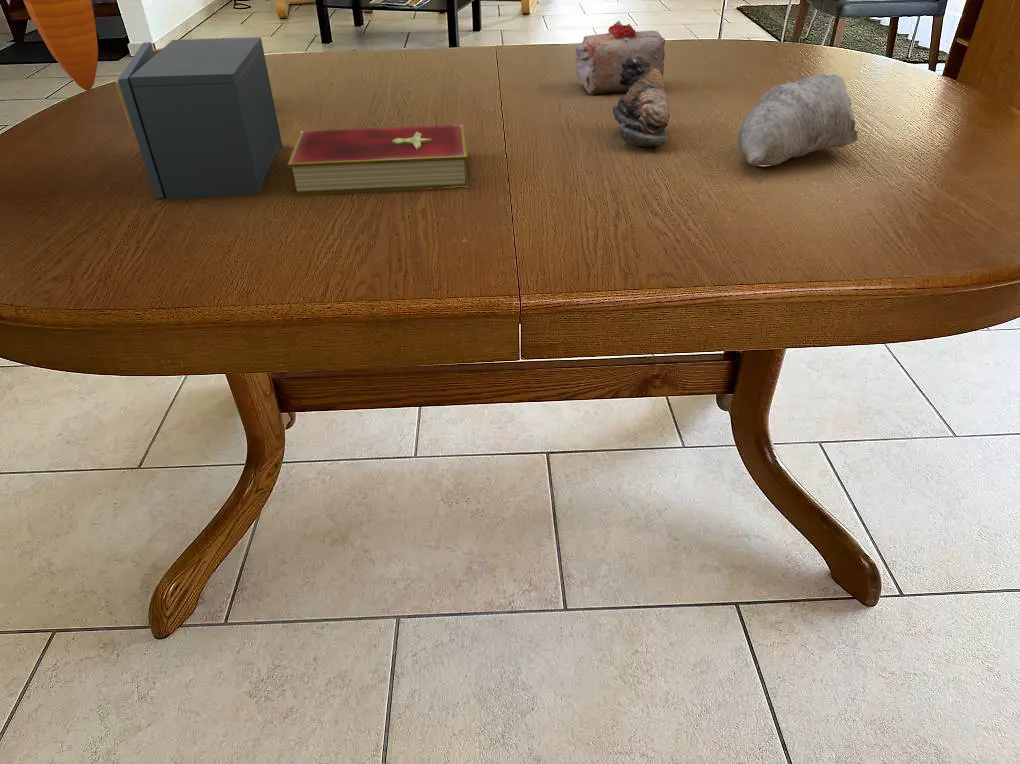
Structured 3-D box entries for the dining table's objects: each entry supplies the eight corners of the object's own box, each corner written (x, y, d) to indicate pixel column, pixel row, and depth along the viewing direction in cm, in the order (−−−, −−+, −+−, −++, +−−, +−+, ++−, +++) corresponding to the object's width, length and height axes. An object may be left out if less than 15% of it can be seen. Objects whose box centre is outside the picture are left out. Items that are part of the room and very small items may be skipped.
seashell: (742, 181, 91) (758, 98, 85) (717, 140, 103) (729, 64, 97) (873, 180, 91) (898, 97, 85) (833, 139, 103) (853, 63, 97)
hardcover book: (306, 159, 98) (300, 127, 96) (464, 152, 100) (462, 121, 97) (293, 196, 89) (287, 162, 86) (468, 188, 90) (467, 154, 88)
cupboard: (166, 199, 88) (128, 77, 80) (201, 149, 102) (172, 39, 93) (260, 195, 89) (232, 73, 81) (282, 145, 103) (261, 37, 94)
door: (118, 202, 87) (76, 81, 79) (142, 152, 101) (107, 44, 92) (164, 198, 88) (127, 78, 80) (181, 148, 102) (151, 41, 93)
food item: (584, 98, 119) (587, 31, 113) (571, 84, 125) (574, 20, 119) (665, 92, 121) (672, 26, 115) (648, 79, 127) (655, 16, 121)
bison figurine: (676, 151, 99) (686, 73, 93) (625, 155, 99) (632, 76, 92) (649, 123, 109) (657, 50, 103) (602, 125, 108) (607, 52, 102)
